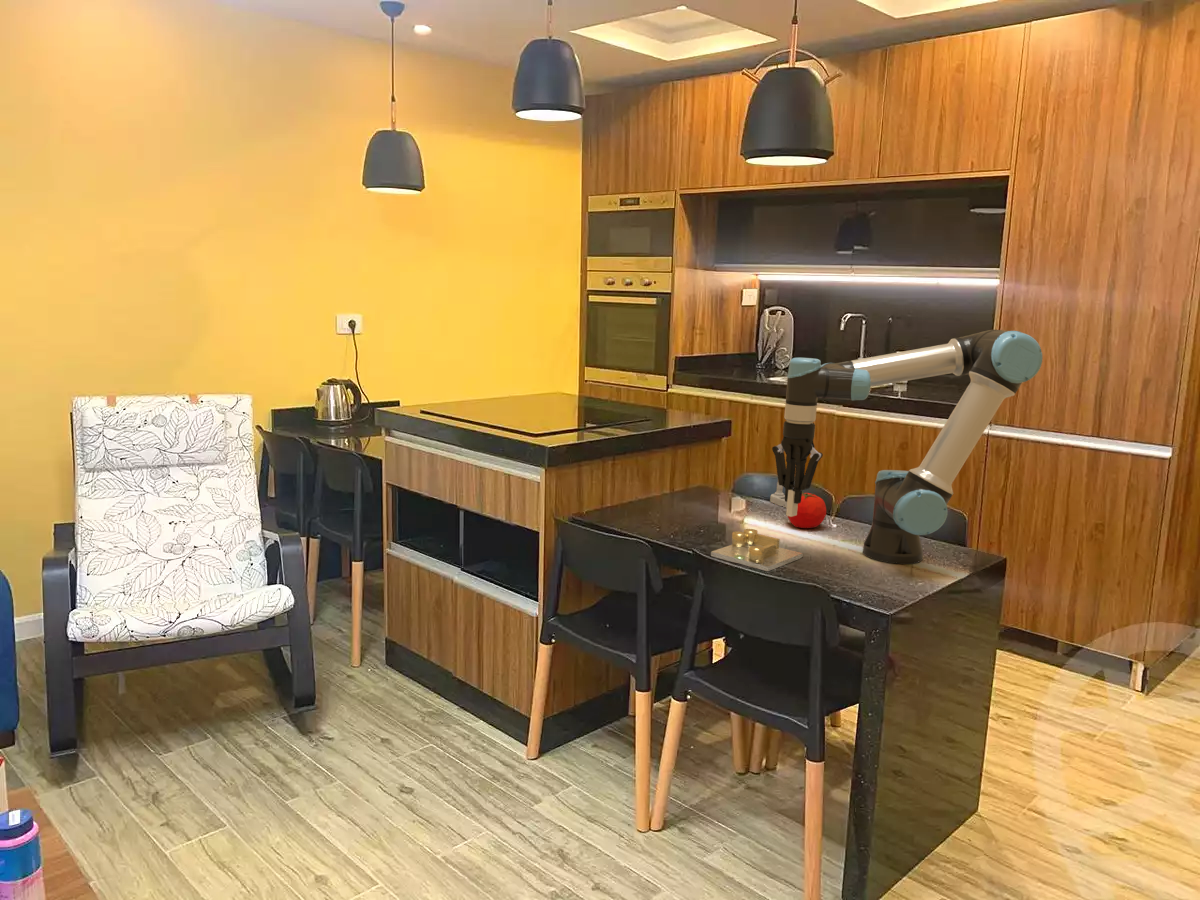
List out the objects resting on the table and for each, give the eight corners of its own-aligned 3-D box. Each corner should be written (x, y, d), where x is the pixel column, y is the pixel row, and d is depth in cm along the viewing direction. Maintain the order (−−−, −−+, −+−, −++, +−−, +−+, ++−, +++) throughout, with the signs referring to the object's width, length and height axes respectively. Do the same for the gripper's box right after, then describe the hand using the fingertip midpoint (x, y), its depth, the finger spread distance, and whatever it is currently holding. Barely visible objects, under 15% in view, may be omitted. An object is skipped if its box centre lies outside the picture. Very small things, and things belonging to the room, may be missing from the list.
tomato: (794, 519, 272) (796, 486, 270) (830, 526, 265) (833, 492, 263) (778, 527, 262) (780, 493, 260) (815, 534, 255) (818, 499, 254)
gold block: (740, 542, 239) (741, 530, 239) (747, 539, 242) (748, 528, 241) (774, 550, 232) (774, 538, 232) (781, 548, 235) (782, 536, 235)
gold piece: (758, 563, 221) (759, 550, 220) (745, 560, 223) (746, 547, 222) (779, 555, 228) (780, 543, 228) (767, 552, 231) (768, 540, 230)
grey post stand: (801, 483, 279) (769, 473, 292) (797, 513, 281) (766, 502, 294) (813, 482, 282) (781, 472, 295) (810, 512, 284) (778, 500, 297)
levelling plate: (802, 557, 232) (803, 541, 231) (767, 571, 219) (768, 554, 218) (745, 543, 243) (746, 527, 242) (709, 556, 230) (710, 539, 230)
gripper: (831, 423, 216) (822, 518, 220) (784, 416, 225) (776, 508, 229) (816, 426, 210) (807, 523, 215) (768, 419, 219) (760, 512, 223)
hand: (791, 515), depth 222 cm, fingers closed
